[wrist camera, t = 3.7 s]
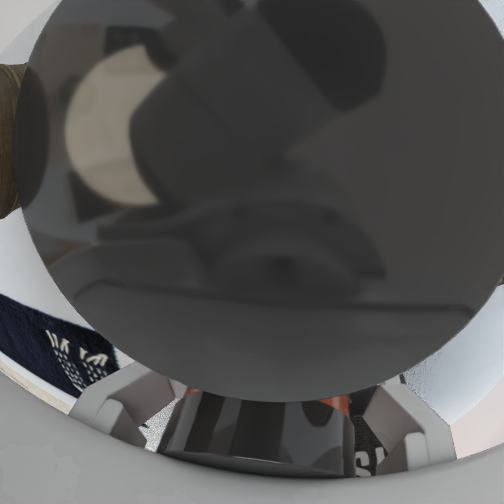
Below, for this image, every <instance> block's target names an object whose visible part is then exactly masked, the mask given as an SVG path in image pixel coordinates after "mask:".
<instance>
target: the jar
mask: <svg viewBox="0 0 504 504" xmlns="http://www.w3.org/2000/svg"><path fill="white" fill-rule="evenodd" d="M13 164H14V173H15V181H16V187H17V193H18V197H19V201H20V205H21V209H22V213H23V217H24V220H25V223H26V225H27V228H28V231H29V234H30V236H31V239H32V241H33V244H34V246H35V248H36V250H37V252H38V254H39V256H40V258H41V260H42V262H43V264H44V266H45V268H46V269H47V271H48V272H49V274H50V276H51V277H52V279H53V280H54V282H55V283H56V285H57V286H58V288H59V289H60V291H61V292H62V294H63V295H64V296H65V297H66V299H67V300H68V301H69V302H70V304H71V305H72V306H73V307H74V308H75V310H76V311H77V312H78V313H79V314H80V315H81V316H82V317H83V318H84V319H85V320H86V321H87V322H88V323H89V324H90V325H91V326H92V327H93V328H94V329H95V330H96V331H97V332H98V333H99V334H100V335H101V336H103V337H104V338H105V339H106V340H107V341H109V342H110V343H111V344H112V345H114V346H115V347H116V348H117V349H119V350H120V351H122V352H123V353H125V354H126V355H128V356H129V357H131V358H132V359H134V360H135V361H137V362H138V363H140V364H141V365H143V366H145V367H147V368H149V369H151V370H153V371H154V372H156V373H158V374H160V375H162V376H164V377H166V378H169V379H171V380H174V381H176V382H178V383H181V384H183V385H186V386H188V387H191V388H194V389H198V390H201V391H204V392H208V393H211V394H215V395H219V396H224V397H229V398H235V399H240V400H247V401H258V402H272V403H282V402H305V401H314V400H321V399H328V398H333V397H338V396H342V395H346V394H350V393H354V392H357V391H361V390H364V389H366V388H369V387H372V386H375V385H377V384H380V383H382V382H385V381H387V380H390V379H392V378H394V377H396V376H398V375H400V374H402V373H403V372H405V371H407V370H409V369H411V368H413V367H415V366H416V365H418V364H419V363H421V362H422V361H424V360H425V359H427V358H428V357H430V356H431V355H433V354H434V353H436V352H437V351H438V350H440V349H441V348H442V347H443V346H445V345H446V344H447V343H448V342H449V341H450V340H452V339H453V338H454V337H455V336H456V335H457V334H458V333H459V332H460V331H462V330H463V329H464V328H465V327H466V326H467V324H468V323H469V322H470V321H471V320H472V319H473V318H474V317H475V315H476V314H477V313H478V312H479V311H480V310H481V308H482V307H483V306H484V305H485V304H486V302H487V301H488V299H489V298H490V296H491V295H492V293H493V292H494V290H495V289H496V287H497V286H498V284H499V283H500V281H501V279H502V278H503V276H504V38H503V36H502V34H501V33H500V31H499V29H498V27H497V26H496V24H495V22H494V21H493V19H492V18H491V16H490V15H489V14H488V12H487V11H486V10H485V8H484V7H483V6H482V4H481V3H480V2H479V0H62V1H61V2H60V4H59V5H58V6H57V8H56V9H55V10H54V12H53V13H52V15H51V16H50V18H49V20H48V21H47V23H46V25H45V27H44V28H43V30H42V32H41V34H40V36H39V38H38V40H37V41H36V43H35V46H34V48H33V51H32V53H31V55H30V58H29V61H28V63H27V66H26V69H25V71H24V75H23V78H22V82H21V86H20V90H19V94H18V98H17V103H16V110H15V118H14V128H13Z"/></svg>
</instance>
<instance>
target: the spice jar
mask: <svg viewBox="0 0 504 504" xmlns="http://www.w3.org/2000/svg"><path fill="white" fill-rule="evenodd" d="M155 452H156V453H159V454H162V455H165V456H169V457H172V458H176V459H179V460H183V461H187V462H191V463H195V464H199V465H204V466H208V467H213V468H218V469H223V470H229V471H235V472H241V473H248V474H255V475H264V476H274V477H287V478H311V479H331V478H354V477H356V446H355V429H354V426H353V424H352V422H351V420H350V405H349V394H346V395H342V396H338V397H333V398H328V399H321V400H314V401H305V402H282V403H272V402H258V401H247V400H240V399H235V398H229V397H224V396H219V395H215V394H211V393H208V392H204V391H201V390H198V389H194V388H191V387H188V386H187V387H186V390H185V392H184V395H183V397H182V398H181V399H180V400H179V401H178V402H177V403H176V405H175V406H174V408H173V410H172V413H171V415H170V418H169V420H168V422H167V425H166V427H165V430H164V432H163V434H162V437H161V439H160V441H159V444H158V446H157V449H156V451H155Z"/></svg>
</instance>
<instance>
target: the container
mask: <svg viewBox="0 0 504 504" xmlns="http://www.w3.org/2000/svg"><path fill="white" fill-rule="evenodd" d="M27 63H28V62H27ZM27 63H25V64H19V65H5V64H0V219H3V218H5V217H6V216H8V215H9V214H10V213H11V212H12V211H14V210H16V209H18V208H19V207H21V205H20V201H19V197H18V193H17V187H16V181H15V173H14V164H13V128H14V118H15V110H16V103H17V98H18V94H19V90H20V86H21V82H22V78H23V75H24V71H25V69H26V66H27Z"/></svg>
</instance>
